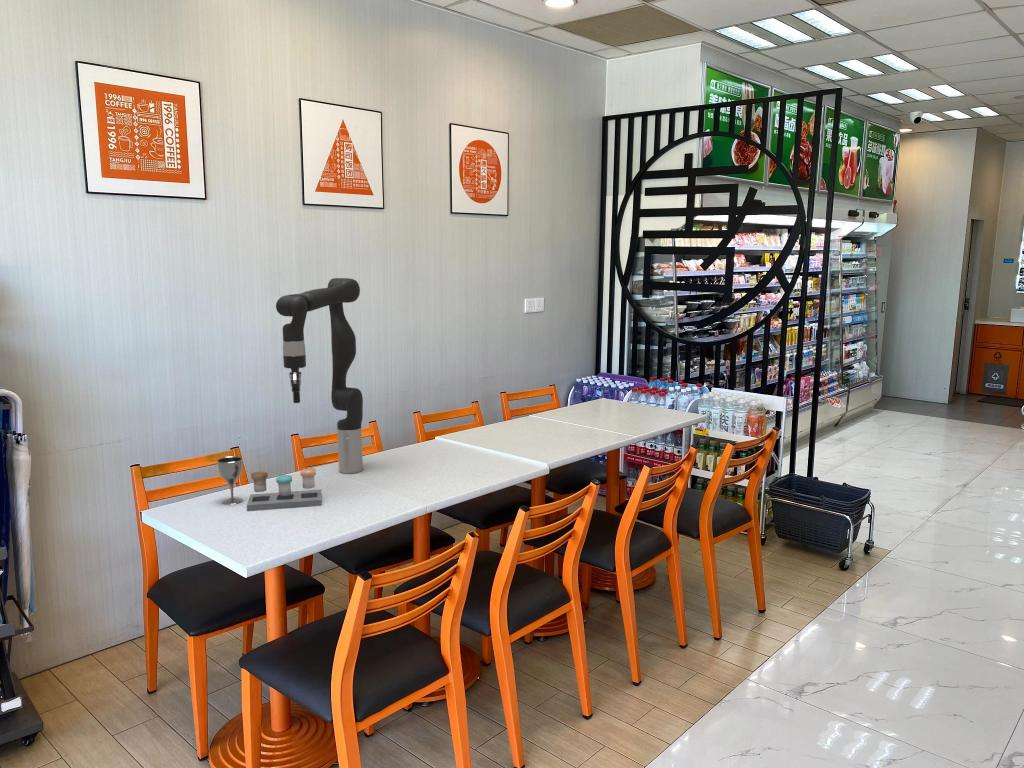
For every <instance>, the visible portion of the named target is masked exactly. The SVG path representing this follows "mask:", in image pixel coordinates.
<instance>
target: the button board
mask: <svg viewBox="0 0 1024 768" xmlns="http://www.w3.org/2000/svg"><path fill="white" fill-rule="evenodd" d="M320 506H322V489H311V490H310V489H305V490H293V491H292V490H291V494H290V495H287V496H280V495H279V491H278V492H266V493H265V492H262V493H251V494H249V497H248V500H247V503H246V511H247V512H252V511H264V510H265V511H267V510H277V509H291V508H292V509H293V508H305V507H320Z"/></svg>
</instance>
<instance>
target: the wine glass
mask: <svg viewBox="0 0 1024 768" xmlns="http://www.w3.org/2000/svg"><path fill="white" fill-rule="evenodd" d="M216 463H217V469H218V473H219V476H220V477H221V478H222V479H223V480H224V481H225V482H226V483H227V484H228V486H229V489H230V490H229V491H230V498H225V499H224V500H222V501H221V504H223V505H228V506H229V505H230V506H231V505H237V504H241V503H243V502H244V499H243V498H240V497H234V488H235V487H234V486H235V483H236V482H237V480H238V479H239V478H240V476H241V474H242V470H243V458H242V457H241V456H231V455H230V456H224V457H220V458H217V462H216Z"/></svg>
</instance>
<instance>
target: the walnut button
mask: <svg viewBox="0 0 1024 768" xmlns="http://www.w3.org/2000/svg"><path fill="white" fill-rule="evenodd" d="M250 475H251V480H253V490H254V492H255V493H265V492H267V479H268V471H262V470H260V471H253V472H251V474H250Z"/></svg>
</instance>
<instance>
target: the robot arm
mask: <svg viewBox="0 0 1024 768" xmlns="http://www.w3.org/2000/svg"><path fill="white" fill-rule="evenodd" d="M360 292H361V287H360V285H359V282H358V281H357V280H355V279H353V278H351V277H350V278H349V277H346V278H345V277H335V278H334V277H333V278H331V279H330V280H329V281H328V283H327V287H323V288H321V287H320V288H315V289H310V290H306V291H304V292H300V293H294V294H286V295H282V296H280V297H279V298H278V299H277V301H276V303H275V309H276V312H277V313H278V314H279V315H281V316H282V317H292V318H291V321H290V322H289V323H286V324H284V325H282V356H283V357H282V358H283V368H284V369H290V370H291V371H290V372H289V375H288V376H289V380H290V386H291V392H292V396H293V397H292V399H293V401H292V402H293V404H299V403H301V395H300V393H301V385H302V375H303V374H302V371H300V369H302V368H303V369H304V368H306V367H307V359H306V358H307V357H306V356H307V354H306V344H305V336H304V335H305V333H304V329H305V324H306V319H307V314H308V312H313V311H315V310H319V309H321V308H325V307H327V306H328V310H329V317H330V319H329V320H330V333H331V335H330V336H331V337H330V339H331V341H330V342H331V343H330V344H331V357H332V361H331V362H332V376H331V377H332V379H331V397H330V398H331V405H332V407H333V408H334V410H336V411H341V412H342V411H344V412H346V417H345V418H343V419H340V420H338V421H337V423H336V427H337V428H336V430H337V450H338V472H340V473H342V474H357V473H361V472H363V470H364V462H363V461H364V460H363V458H364V457H363V439H362V438H363V437H362V435H363V434H362V422H363V418H364V417H363V415H364V414H363V412H364V411H363V410H364V409H363V406H364V405H363V404H364V400H363V399H364V397H363V394H362V391H361V390H360V389H359V388H357V387H347V374H348V371H349V369H350V367H351V366H352V364H353V362H354V360H355V358H356V355H357V341H356V340H357V338H356V335H355V332H354V329H353V327H351V325H350V323H349V322H348V320H347V317H346V316H345V310H344V305H343V304H345V303H346V304H348V303H354V302H355V301H357V300H358V298H359V297H360V294H361V293H360Z"/></svg>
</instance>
